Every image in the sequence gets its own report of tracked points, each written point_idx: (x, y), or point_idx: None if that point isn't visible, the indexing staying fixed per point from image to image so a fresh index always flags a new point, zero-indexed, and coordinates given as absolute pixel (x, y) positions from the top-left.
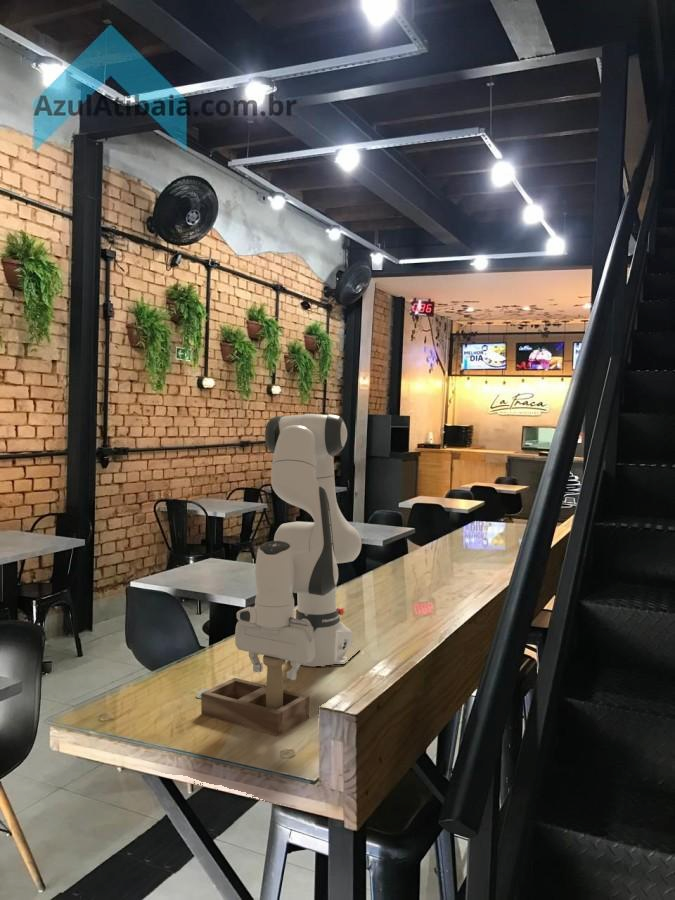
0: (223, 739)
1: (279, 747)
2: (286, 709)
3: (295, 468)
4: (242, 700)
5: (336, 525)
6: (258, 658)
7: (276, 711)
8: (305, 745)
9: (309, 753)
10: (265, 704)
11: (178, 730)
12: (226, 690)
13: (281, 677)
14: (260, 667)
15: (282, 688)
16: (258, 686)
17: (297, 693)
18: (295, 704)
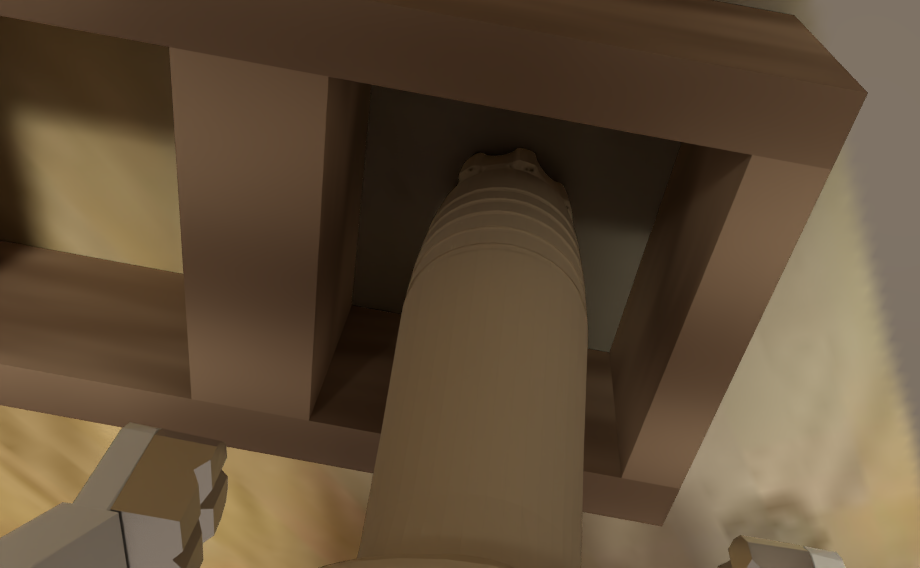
0: (346, 495)
1: (703, 496)
2: (699, 445)
3: None
4: (241, 402)
5: None
6: (52, 560)
7: (630, 499)
8: (865, 443)
9: (911, 511)
10: (350, 144)
11: (53, 474)
12: None
13: (581, 492)
14: (196, 504)
15: (583, 369)
16: (114, 35)
17: (685, 67)
18: (750, 331)
